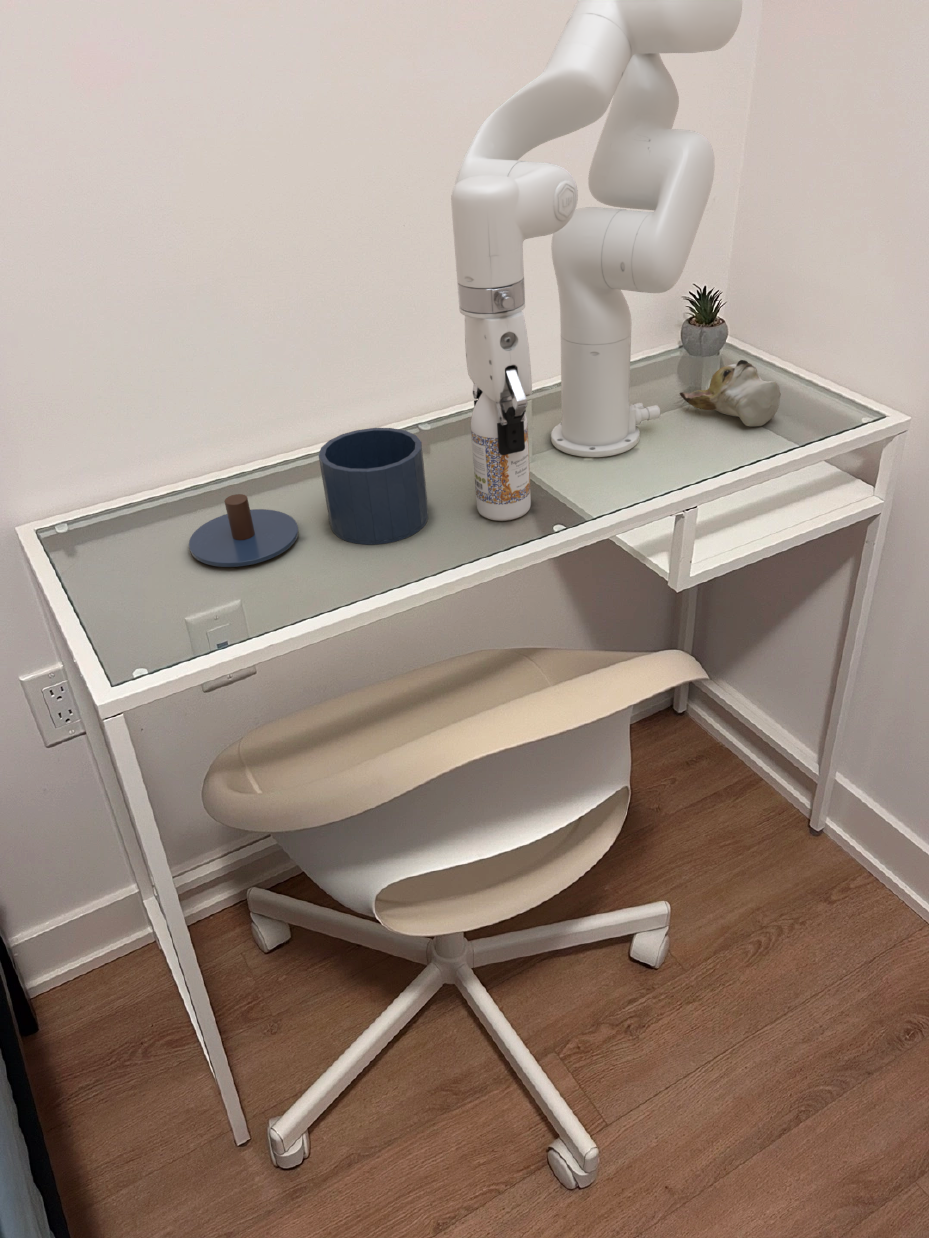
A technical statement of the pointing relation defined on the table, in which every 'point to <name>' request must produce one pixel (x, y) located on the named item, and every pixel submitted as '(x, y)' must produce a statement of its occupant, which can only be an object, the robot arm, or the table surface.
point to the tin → (374, 485)
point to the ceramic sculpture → (738, 394)
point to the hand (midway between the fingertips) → (499, 439)
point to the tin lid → (243, 535)
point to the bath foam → (498, 466)
